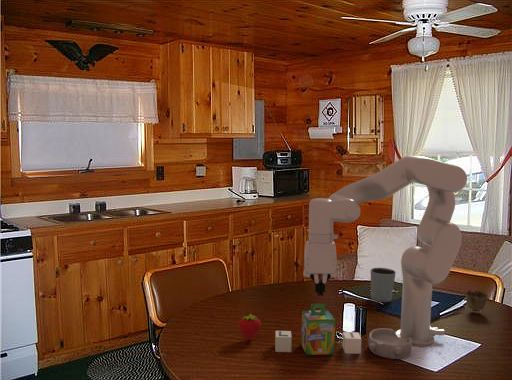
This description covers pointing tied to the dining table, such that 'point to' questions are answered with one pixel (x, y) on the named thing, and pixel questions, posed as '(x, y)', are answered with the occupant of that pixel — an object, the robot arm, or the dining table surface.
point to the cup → (476, 301)
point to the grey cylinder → (382, 284)
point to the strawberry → (249, 326)
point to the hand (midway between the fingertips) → (319, 294)
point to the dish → (389, 344)
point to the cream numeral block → (352, 342)
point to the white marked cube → (283, 341)
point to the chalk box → (318, 331)
